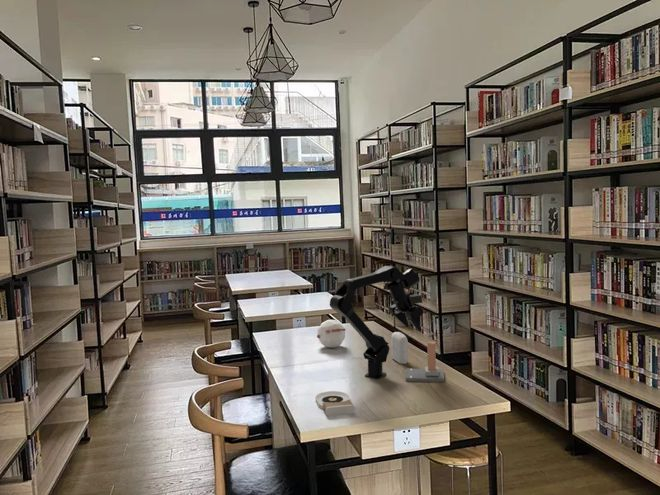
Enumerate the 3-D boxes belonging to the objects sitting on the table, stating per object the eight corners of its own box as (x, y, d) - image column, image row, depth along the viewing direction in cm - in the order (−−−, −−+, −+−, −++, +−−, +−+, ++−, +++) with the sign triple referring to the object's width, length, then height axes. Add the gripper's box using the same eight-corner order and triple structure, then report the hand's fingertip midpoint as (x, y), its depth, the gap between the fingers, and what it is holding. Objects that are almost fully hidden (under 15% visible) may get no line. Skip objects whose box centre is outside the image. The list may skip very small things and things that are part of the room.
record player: (322, 408, 171) (312, 388, 191) (322, 417, 171) (313, 397, 191) (357, 404, 173) (344, 385, 193) (358, 414, 174) (344, 394, 193)
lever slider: (425, 375, 205) (424, 344, 204) (425, 370, 212) (424, 340, 211) (438, 375, 204) (438, 345, 203) (437, 370, 211) (437, 340, 210)
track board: (405, 381, 204) (405, 377, 203) (406, 371, 215) (406, 368, 215) (444, 381, 201) (444, 378, 201) (442, 372, 213) (442, 369, 213)
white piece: (341, 347, 269) (336, 320, 272) (352, 342, 246) (346, 313, 249) (314, 353, 266) (309, 326, 269) (322, 349, 242) (316, 319, 246)
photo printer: (409, 363, 226) (408, 334, 226) (400, 364, 225) (399, 335, 224) (399, 357, 236) (398, 329, 235) (390, 358, 235) (389, 330, 234)
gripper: (427, 287, 209) (441, 322, 211) (402, 283, 226) (416, 315, 229) (404, 300, 205) (419, 336, 208) (381, 296, 222) (396, 328, 225)
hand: (413, 328), depth 217 cm, fingers open, 9 cm apart
